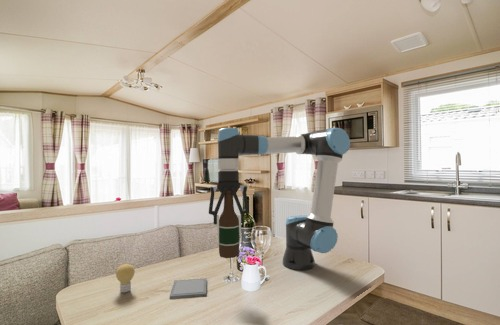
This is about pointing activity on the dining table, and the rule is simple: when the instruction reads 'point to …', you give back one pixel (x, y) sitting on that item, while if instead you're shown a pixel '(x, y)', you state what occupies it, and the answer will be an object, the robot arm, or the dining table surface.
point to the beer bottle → (228, 229)
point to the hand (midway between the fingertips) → (228, 232)
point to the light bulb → (125, 277)
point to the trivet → (189, 288)
